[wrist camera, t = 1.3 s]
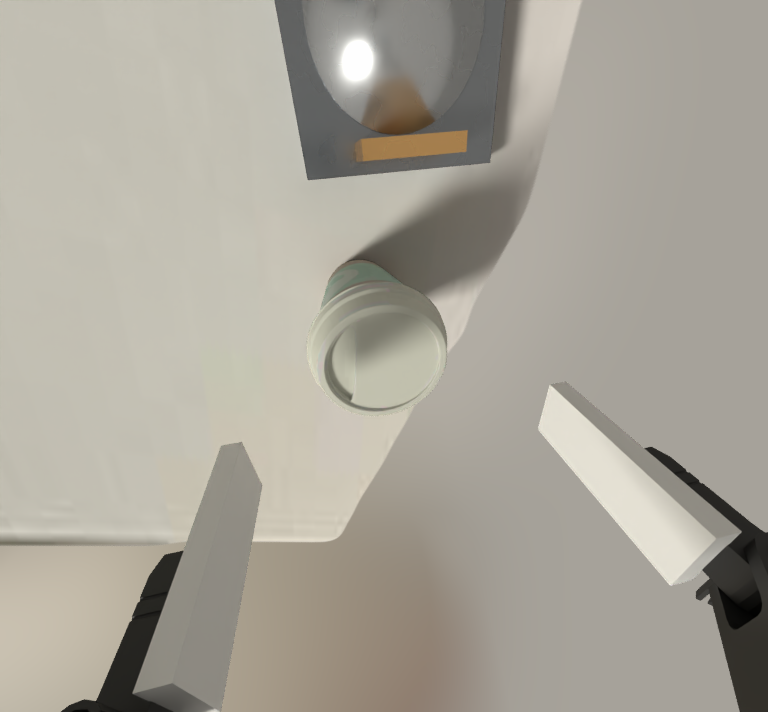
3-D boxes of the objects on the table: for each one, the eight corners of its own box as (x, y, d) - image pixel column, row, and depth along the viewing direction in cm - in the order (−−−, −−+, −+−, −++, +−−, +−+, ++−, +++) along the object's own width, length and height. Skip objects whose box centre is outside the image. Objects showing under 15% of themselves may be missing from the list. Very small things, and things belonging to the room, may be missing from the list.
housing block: (245, -167, 14) (206, -348, 9) (497, -159, 16) (583, -313, 11) (308, 178, 22) (306, 182, 17) (474, 163, 23) (517, 161, 18)
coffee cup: (344, 220, 24) (364, 259, 14) (424, 279, 27) (486, 343, 17) (292, 306, 26) (276, 391, 16) (370, 349, 30) (397, 439, 20)
